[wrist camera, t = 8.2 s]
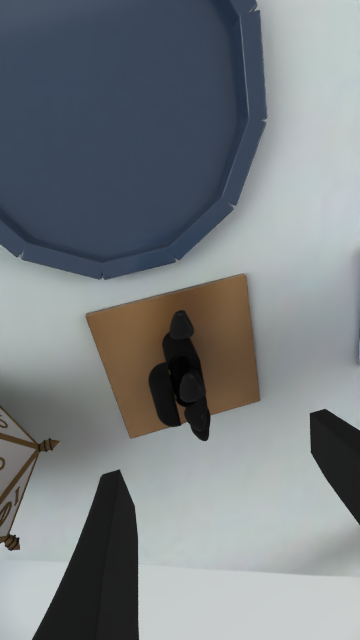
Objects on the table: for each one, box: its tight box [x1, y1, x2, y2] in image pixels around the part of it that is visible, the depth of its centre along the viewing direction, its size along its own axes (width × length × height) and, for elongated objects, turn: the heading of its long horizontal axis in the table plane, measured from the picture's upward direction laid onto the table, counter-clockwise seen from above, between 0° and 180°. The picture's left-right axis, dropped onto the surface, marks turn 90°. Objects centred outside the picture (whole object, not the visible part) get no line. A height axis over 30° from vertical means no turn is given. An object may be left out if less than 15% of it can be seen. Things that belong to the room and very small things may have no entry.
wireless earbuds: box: [148, 310, 210, 441], centre depth 15 cm, size 7×2×5 cm, turn 11°
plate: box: [0, 0, 267, 280], centre depth 12 cm, size 13×13×1 cm
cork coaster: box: [86, 274, 260, 438], centre depth 18 cm, size 8×8×1 cm
